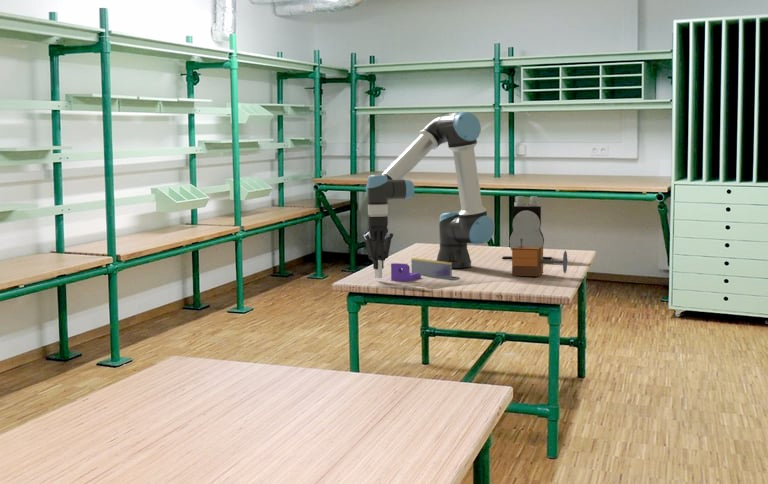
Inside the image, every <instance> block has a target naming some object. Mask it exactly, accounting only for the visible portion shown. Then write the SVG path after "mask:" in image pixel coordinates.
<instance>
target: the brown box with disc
mask: <svg viewBox="0 0 768 484" xmlns="http://www.w3.org/2000/svg"><path fill="white" fill-rule="evenodd" d="M520 241H521V246H517V247H514V248H512V250H511V256H512V260H511V275H512V276H521V277H522V276H523V277H524V276H525V277H539V276H541V275H542V273H543V274H544V264H545V265H546V264H548V265H549V264H550V265H552V264H562V269H563V270H562V271H563V273H564V274H566V273H567V270H568V252H567V250H564V252H563V258H562V260H561V259H560V260H558V259H557V260H556V259H555V260H554V259H552V260H550V259H543V257H544V246H543V247H537V246H522V241H523V239H520Z"/></svg>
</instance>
